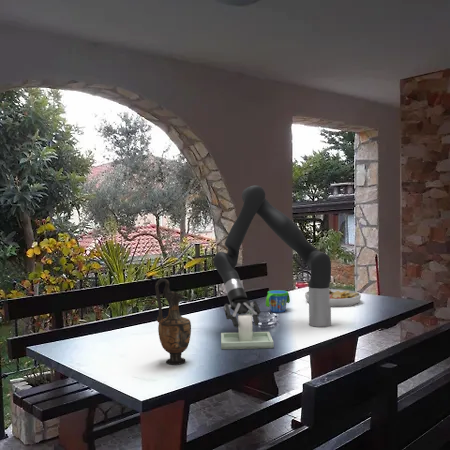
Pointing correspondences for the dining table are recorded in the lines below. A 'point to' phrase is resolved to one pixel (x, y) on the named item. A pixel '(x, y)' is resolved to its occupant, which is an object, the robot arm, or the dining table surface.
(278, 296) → the snack cup
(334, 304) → the plate of food
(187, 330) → the vase
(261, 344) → the tray
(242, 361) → the dining table surface
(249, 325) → the white upright cylinder
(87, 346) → the dining table surface
